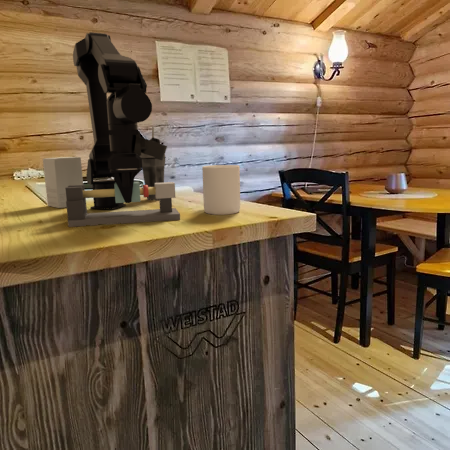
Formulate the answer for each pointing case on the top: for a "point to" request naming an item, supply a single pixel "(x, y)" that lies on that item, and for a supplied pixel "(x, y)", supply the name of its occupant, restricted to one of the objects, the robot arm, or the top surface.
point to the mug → (221, 189)
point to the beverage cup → (152, 170)
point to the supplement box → (61, 178)
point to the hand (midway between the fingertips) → (128, 201)
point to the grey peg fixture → (82, 218)
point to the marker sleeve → (135, 193)
